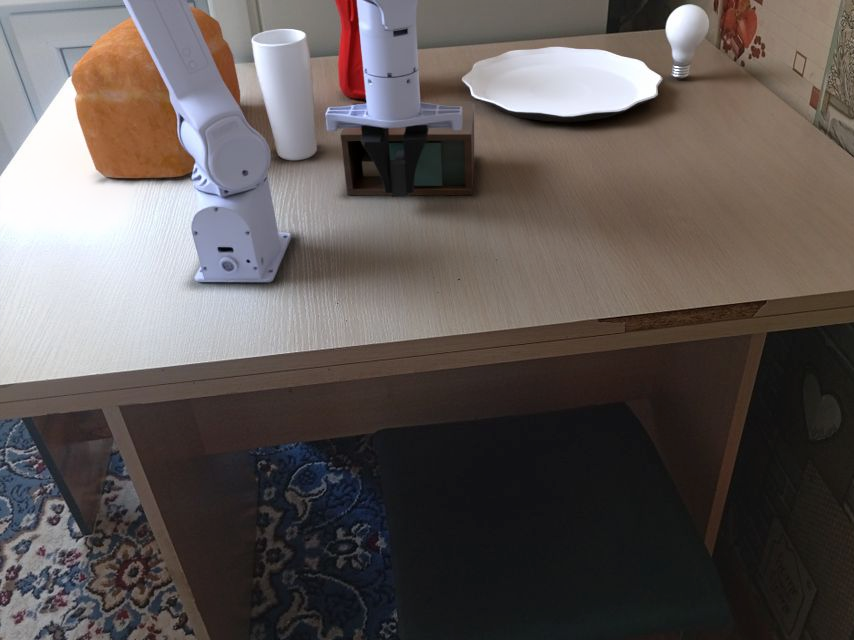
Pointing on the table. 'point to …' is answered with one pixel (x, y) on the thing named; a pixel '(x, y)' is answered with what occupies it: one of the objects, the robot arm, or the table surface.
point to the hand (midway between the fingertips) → (400, 189)
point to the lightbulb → (685, 36)
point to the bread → (138, 103)
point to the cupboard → (453, 143)
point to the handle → (425, 171)
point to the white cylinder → (287, 90)
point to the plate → (562, 83)
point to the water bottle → (350, 51)
